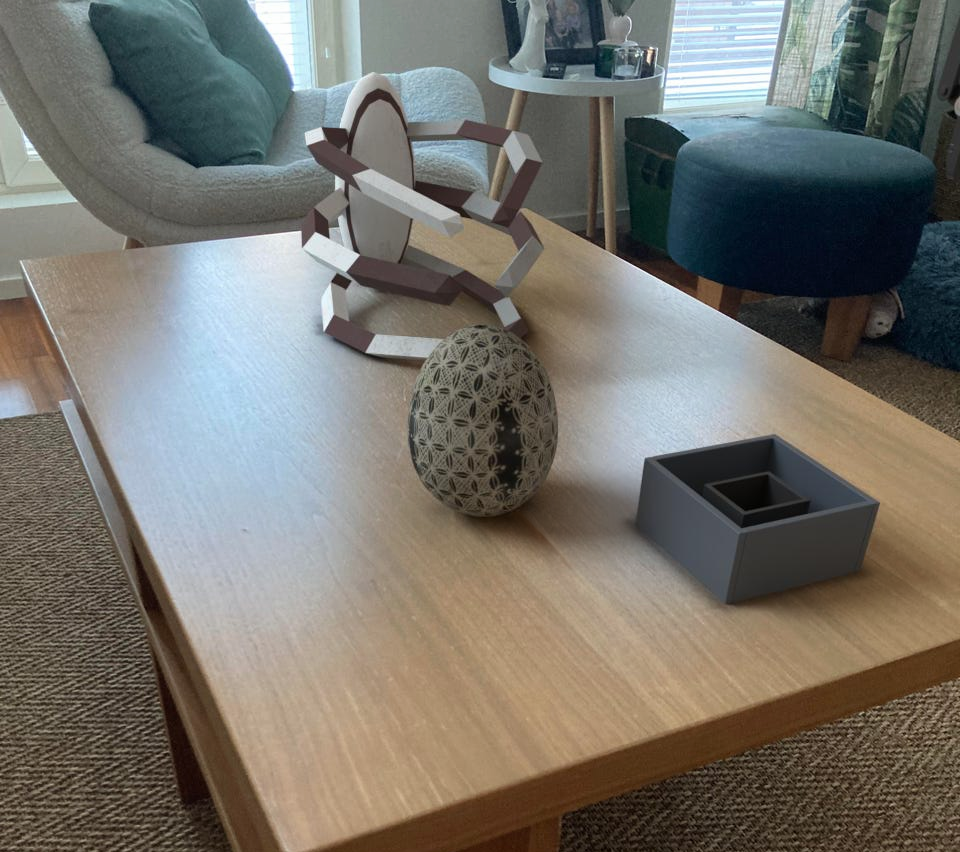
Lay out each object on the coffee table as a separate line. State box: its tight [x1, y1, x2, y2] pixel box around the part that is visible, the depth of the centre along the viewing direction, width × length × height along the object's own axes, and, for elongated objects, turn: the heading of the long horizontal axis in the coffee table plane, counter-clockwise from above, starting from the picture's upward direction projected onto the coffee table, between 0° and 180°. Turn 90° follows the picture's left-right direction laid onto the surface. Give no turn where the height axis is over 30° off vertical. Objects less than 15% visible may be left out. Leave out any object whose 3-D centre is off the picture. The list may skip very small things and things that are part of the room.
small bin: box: [702, 471, 811, 528], centre depth 78 cm, size 6×5×5 cm
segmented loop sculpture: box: [300, 71, 546, 362], centre depth 112 cm, size 24×27×35 cm
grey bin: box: [635, 433, 881, 605], centre depth 78 cm, size 12×12×6 cm
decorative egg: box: [406, 323, 559, 518], centre depth 80 cm, size 12×12×15 cm
